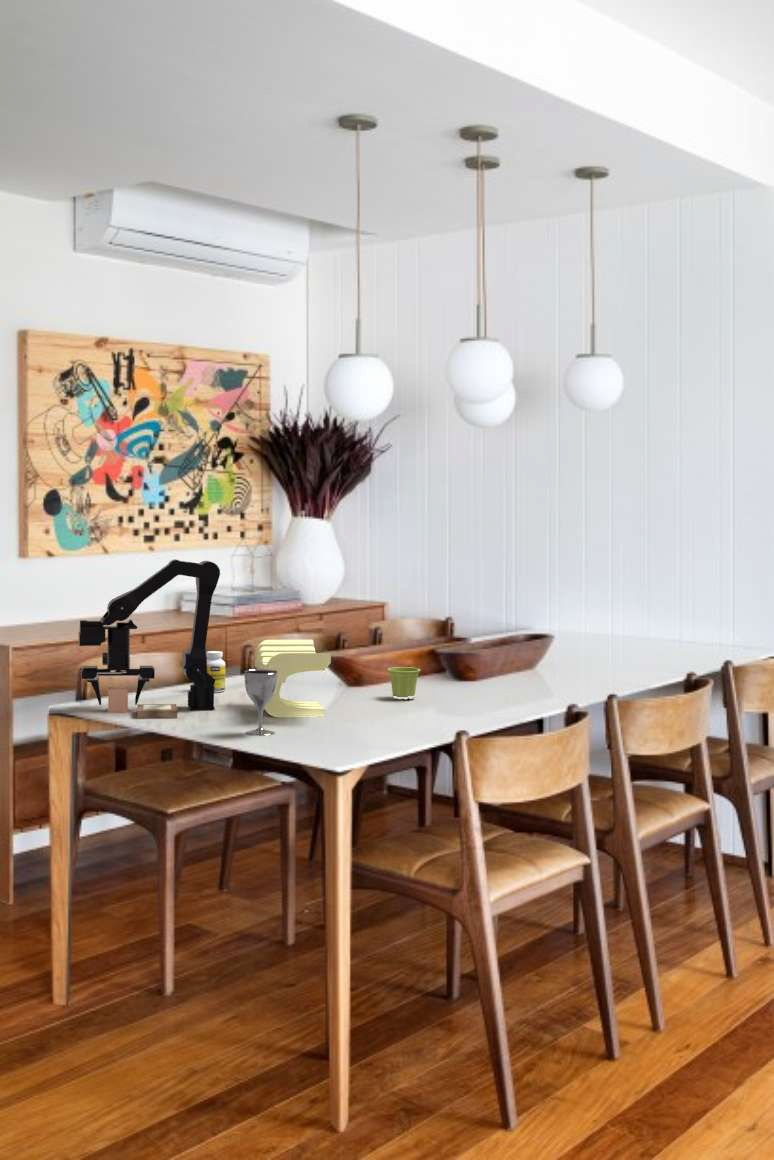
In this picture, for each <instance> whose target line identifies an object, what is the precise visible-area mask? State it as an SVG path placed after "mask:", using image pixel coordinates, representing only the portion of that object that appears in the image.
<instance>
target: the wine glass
mask: <svg viewBox="0 0 774 1160" xmlns="http://www.w3.org/2000/svg"><path fill="white" fill-rule="evenodd" d="M277 678H278V672H277V671H275V670H268V669H257V668H255V669H247V670H244V686H245V687H244V688H245V692H246V695H247V696H248V698H249V699H250V700H251V701H252V702H253V704H254V705H255V706H256V709H257V713H258V727H257V728H255V729H251V730H247V731H246V732H245V734H246V735H249V736H258V735H259V736H262V737H263V736H271V735H274V734H276V732H275V731H274V730H269V729H265V728H264V727H263V716H264V715H263V714H264V710H265V709H264V707H265V706H266V704H267V703H268V702H269V700H270V699H271V698H272V697H273V696H274V694H275V691H276V687H277Z"/></svg>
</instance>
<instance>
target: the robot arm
mask: <svg viewBox="0 0 774 1160" xmlns="http://www.w3.org/2000/svg"><path fill="white" fill-rule="evenodd" d="M177 576H185V577H189V578H190V577H191V578H195V587H196V600H195V609H194V616H193V625H192V631H191V639H190V645H189V647H188V650H187V651H185V650H183V651H182V653H181V655H182V661H181V663H180V665H179V666H180V667H181V668H182V672H183V675H184V676H185V677H186V678H187V679H188V680H190V683H191V684H190V685H189V689H188V691H187V706H188V708H189V710H190V711H192V710H193V711H197V710H198V711H199V710H200V711H206V710H207V711H209V710H211V711H212V710H215V693H214V683H215V679H214V678H213V677H212V676H211V675H210V674H208V673H207V657H206V653H207V650H206V644H207V639H208V632H209V631H208V630H209V622H210V613H211V605H212V599H213V595H214V592H215V591H216V588H217V585H218V582H219V579H220V576H221V570H220V567H219V566H218V564H216V563H215V562H214V561H213V562H212V561H210V560H203V561H200V562H193V561H191V562H190V561H186V560H185V561H183V560H179V559H172V560H170V561H168V563H167V564H165V566H163V567H162V568H161V569H160V570H158V571H157V572H155V573H154V574H152V575H151V576H150V577H148V578H147V579H146V580H144V581H143V582H142V583H139V585H138V586H136V587H135V588H134V589H131V590H129V591H128V592H124V593H122V594H119V596H116V597H114V598H112V599H111V600H110V601H109V602H108V603H107V607H106V609H107V611H106V612H105V613H104V614H103V616H101V618H100V620H87V619H86V620H85V619H83V620H82V619H80V620H79V631H78V647H101V646H102V644H104V643H106V630H107V652H102V659H101V661H102V662H101V663H102V666H107V667H106V668H98V665H84V666H83V667H82V668H81V680H86V683H91V686H92V688H93V690H94V692H95V695H96V696H95V697H96V699H97V701H98V704H99V706H102V696H101V695H102V694H101V687H100V676H102V677H105V676H107V677H108V676H109V677H111V676H112V677H113V676H115V677H117V676H122V677H123V676H127V677H128V676H129V677H131V676H138V677H137V684H136V691H135V700H134V703H135V704H134V705H135V706H137V704H138V703H139V699H140V696H141V693H142V690H143V688H144V686H145V685H146V683H150V681H151V680H152V679H155V676H156V675H155V674H156V672H155V670H156V669H155V667H154V665H139V668H131V659H130V657H131V656H130V653H131V652H130V650H131V648H130V647H131V646H130V645H131V643H130V642H131V641H130V639H131V634H130V633H131V630H137V629H138V626H137V625H136V624H135V623H134V622H133V620H132V619H131V618H130V619H129V617H130V616H131V615H132V614H133V613H134V612H135V611H136V610H137V608H138V607H139V606H140V605H141V604H142V603H143V602H144V601H145V600H147V599H148V598H149V597H150V596H152V595H153V594H155V593H156V592H157V591H158V590H159V589H161V588H163V587H164V586H165V585H167V584H168V583H169V582H171V581H172V580H174V579H175V578H176V577H177ZM127 619H129V620H128V621H126V620H127ZM117 621H118V622H117ZM123 621H126V622H123ZM114 623H115V625H112V624H114ZM150 679H151V680H150Z"/></svg>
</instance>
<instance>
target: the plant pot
mask: <svg viewBox="0 0 774 1160" xmlns="http://www.w3.org/2000/svg"><path fill="white" fill-rule="evenodd" d="M387 671H388V673H389V677H390V683H391V693H392V697H393V696H397V697H408V696H414V695H415V696H416V691H417V690H416V689H417V682H418V677H419V674H420V672H421V669H420V668H416V667H411V666H410V667H408V666H407V667H406V666H405V667H404V666H401V667H400V666H399V667H389V668H387Z"/></svg>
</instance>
